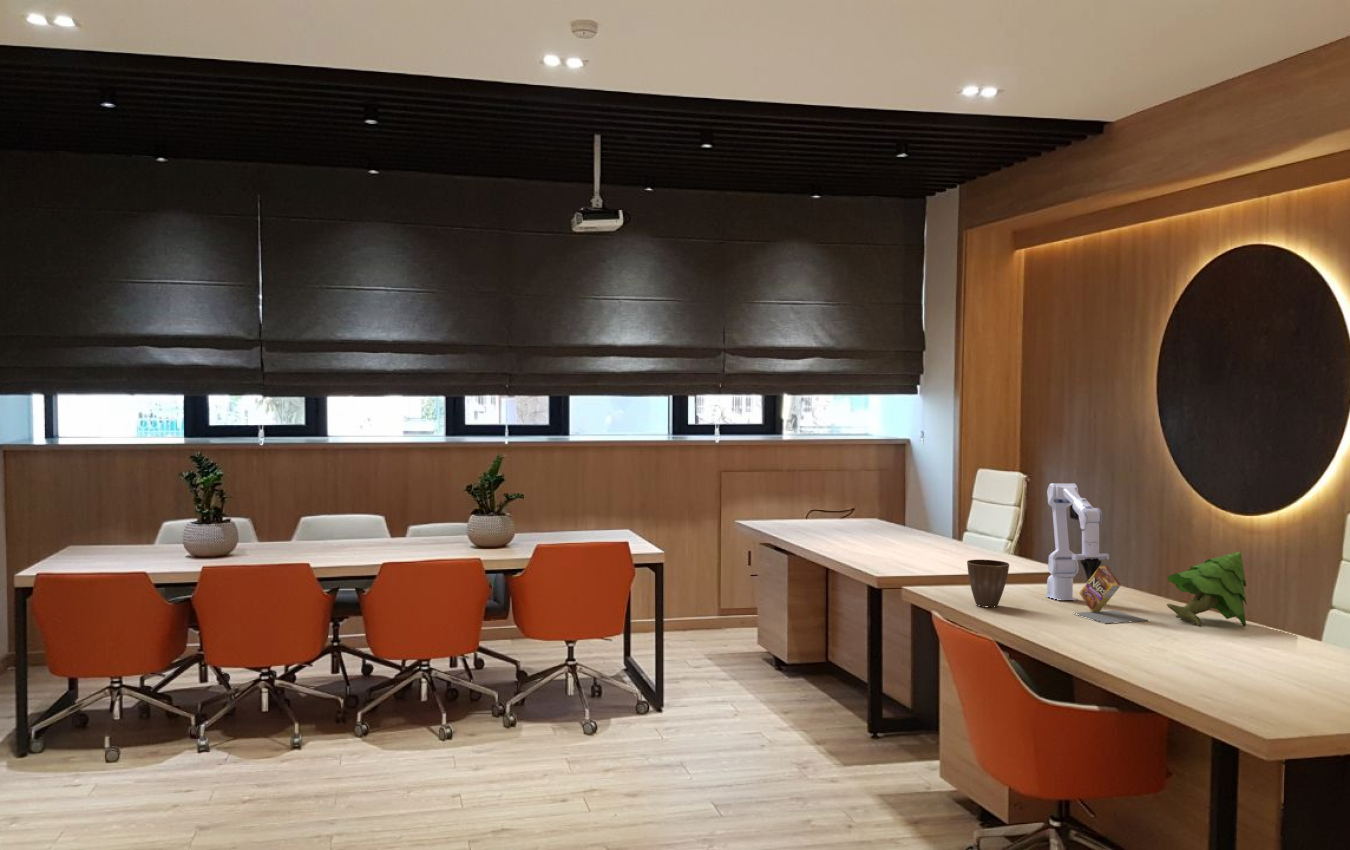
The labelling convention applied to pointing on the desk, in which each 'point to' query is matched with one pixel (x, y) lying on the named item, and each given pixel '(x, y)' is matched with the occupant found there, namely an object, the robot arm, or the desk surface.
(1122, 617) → the rubber mat
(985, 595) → the plant pot
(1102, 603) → the candy box
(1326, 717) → the desk surface
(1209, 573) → the decorative tree
